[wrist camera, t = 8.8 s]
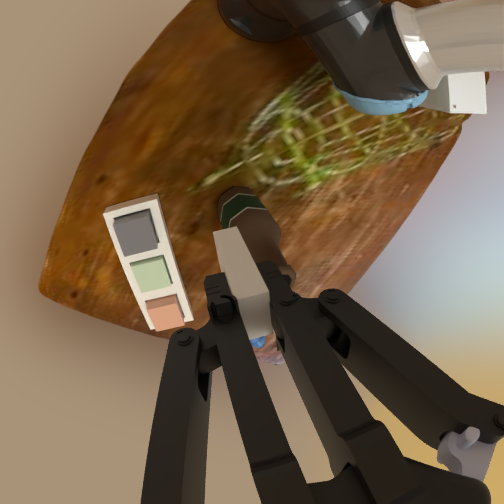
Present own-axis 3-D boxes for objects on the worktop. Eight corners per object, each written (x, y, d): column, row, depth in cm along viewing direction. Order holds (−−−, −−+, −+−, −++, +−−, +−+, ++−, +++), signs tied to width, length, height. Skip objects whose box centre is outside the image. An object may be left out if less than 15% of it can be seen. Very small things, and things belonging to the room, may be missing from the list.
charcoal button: (115, 217, 45) (112, 225, 42) (148, 208, 45) (147, 215, 43) (126, 248, 48) (124, 256, 45) (158, 240, 49) (157, 248, 46)
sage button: (132, 258, 51) (130, 266, 48) (162, 250, 52) (162, 259, 49) (142, 283, 54) (141, 293, 51) (171, 276, 55) (171, 286, 52)
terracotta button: (146, 300, 54) (146, 309, 52) (175, 293, 55) (176, 303, 53) (156, 321, 57) (156, 331, 55) (183, 315, 58) (184, 325, 56)
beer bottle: (207, 213, 51) (235, 298, 31) (230, 176, 49) (275, 241, 29) (243, 231, 55) (288, 316, 35) (265, 196, 53) (327, 267, 33)
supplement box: (424, 101, 50) (487, 116, 35) (382, 101, 48) (449, 115, 33) (416, 31, 40) (480, 30, 25) (371, 22, 39) (438, 12, 24)
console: (106, 207, 46) (103, 213, 43) (157, 193, 47) (156, 198, 45) (150, 320, 60) (150, 329, 57) (192, 310, 61) (193, 320, 59)
